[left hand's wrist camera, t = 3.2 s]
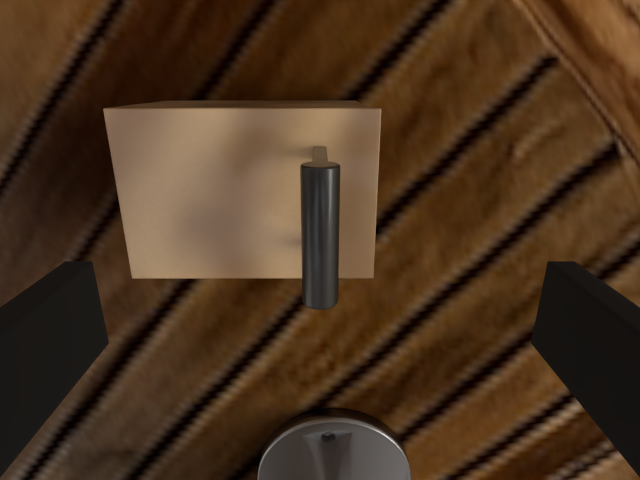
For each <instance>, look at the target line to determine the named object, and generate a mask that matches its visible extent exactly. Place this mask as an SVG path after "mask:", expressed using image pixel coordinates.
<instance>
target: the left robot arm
mask: <svg viewBox="0 0 640 480" xmlns="http://www.w3.org/2000/svg"><path fill="white" fill-rule="evenodd" d="M108 344H109V342H108V337H107V332H106V327H105V322H104V317H103V312H102V307H101V302H100V298H99V293H98V288H97V283H96V278H95V273H94V268H93V263H92V262H64V263H63V264H61V265H60V266H59V267H57V268H56V269H54V270H53V271H51V272H50V273H49V274H47V275H46V276H44V277H43V278H42V279H40V280H39V281H37V282H36V283H34V284H33V285H32V286H30V287H29V288H27V289H26V290H25V291H23V292H22V293H20V294H19V295H17V296H16V297H15V298H13V299H12V300H10V301H9V302H7V303H6V304H5V305H3V306H2V307H0V477H1V476H2V474H3V473H4V472H5V471H6V470H7V468H8V467H9V466H10V465H11V463H12V462H13V461H14V460H15V458H16V457H17V456H18V455H19V453H20V452H21V451H22V450H23V449H24V447H25V446H26V445H27V444H28V442H29V441H30V440H31V439H32V437H33V436H34V435H35V434H36V432H37V431H38V430H39V429H40V428H41V426H42V425H43V424H44V423H45V421H46V420H47V419H48V418H49V416H50V415H51V414H52V413H53V411H54V410H55V409H56V408H57V407H58V405H59V404H60V403H61V402H62V400H63V399H64V398H65V397H66V395H67V394H68V393H69V392H70V390H71V389H72V388H73V387H74V386H75V384H76V383H77V382H78V381H79V379H80V378H81V377H82V376H83V374H84V373H85V372H86V371H87V369H88V368H89V367H90V366H91V365H92V363H93V362H94V361H95V360H96V358H97V357H98V356H99V355H100V353H101V352H102V351H103V350H104V348H105V347H106V346H107V345H108ZM531 344H532V345H533V346H534V347H535V348H536V350H537V351H538V352H539V353H540V355H541V356H542V357H543V358H544V360H545V361H546V362H547V363H548V365H549V366H550V367H551V368H552V369H553V371H554V372H555V373H556V374H557V376H558V377H559V378H560V379H561V381H562V382H563V383H564V384H565V386H566V387H567V388H568V389H569V390H570V392H571V393H572V394H573V395H574V397H575V398H576V399H577V400H578V402H579V403H580V404H581V405H582V407H583V408H584V409H585V410H586V411H587V413H588V414H589V415H590V416H591V418H592V419H593V420H594V421H595V423H596V424H597V425H598V426H599V428H600V429H601V430H602V431H603V432H604V434H605V435H606V436H607V437H608V439H609V440H610V441H611V442H612V444H613V445H614V446H615V447H616V449H617V450H618V451H619V452H620V453H621V455H622V456H623V457H624V458H625V460H626V461H627V462H628V463H629V465H630V466H631V467H632V468H633V470H634V471H635V472H636V473H637V474H638V476H639V477H640V307H638V306H637V305H635V304H634V303H633V302H631V301H630V300H628V299H627V298H625V297H624V296H623V295H621V294H620V293H618V292H617V291H615V290H614V289H613V288H611V287H610V286H608V285H607V284H606V283H604V282H603V281H601V280H600V279H598V278H597V277H596V276H594V275H593V274H591V273H590V272H589V271H587V270H586V269H584V268H583V267H581V266H580V265H579V264H577V263H576V262H548V263H547V268H546V273H545V278H544V283H543V288H542V293H541V298H540V302H539V307H538V312H537V317H536V322H535V327H534V332H533V337H532V342H531ZM258 480H411V474H410V468H409V463H408V459H407V455H406V451H405V448H404V446H403V444H402V442H401V440H400V439H399V438H398V436H397V435H396V434H395V433H394V432H393V431H392V430H391V429H390V428H389V427H388V426H386V425H385V424H384V423H382V422H381V421H379V420H377V419H375V418H373V417H371V416H368V415H366V414H363V413H359V412H355V411H350V410H341V409H328V410H319V411H314V412H310V413H306V414H303V415H301V416H298V417H296V418H294V419H292V420H290V421H288V422H287V423H285V424H284V425H282V426H281V427H280V428H278V429H277V430H276V431H275V432H274V433H273V434H272V435H271V437H270V438H269V439H268V441H267V442H266V444H265V446H264V448H263V451H262V454H261V458H260V464H259V471H258Z"/></svg>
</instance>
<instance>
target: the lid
mask: <svg viewBox="0 0 640 480" xmlns="http://www.w3.org/2000/svg"><path fill="white" fill-rule="evenodd" d="M103 111H104V117H105V123H106V129H107V135H108V140H109V146H110V152H111V158H112V164H113V170H114V175H115V181H116V187H117V193H118V199H119V205H120V210H121V216H122V222H123V228H124V234H125V240H126V245H127V251H128V257H129V263H130V269H131V275H132V278H302V301H303V303H304V305H306V306H307V307H309V308H312V309H328V308H331V307H333V306H335V305H336V304H337V302H338V284H339V278H373V274H374V253H375V232H376V212H377V191H378V170H379V150H380V129H381V108H379V107H110V108H104V109H103Z"/></svg>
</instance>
